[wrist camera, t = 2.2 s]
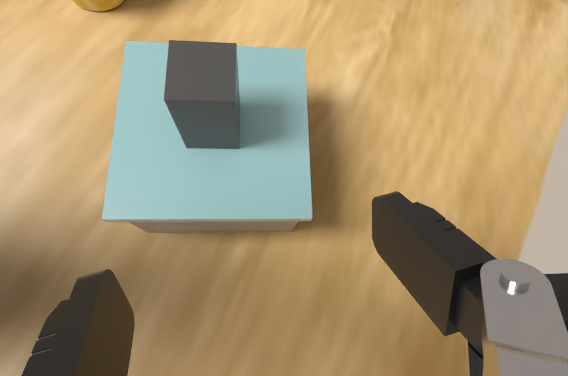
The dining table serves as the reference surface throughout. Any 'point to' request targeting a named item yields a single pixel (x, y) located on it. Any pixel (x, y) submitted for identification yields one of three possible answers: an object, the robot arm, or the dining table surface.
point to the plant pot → (98, 4)
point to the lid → (209, 135)
